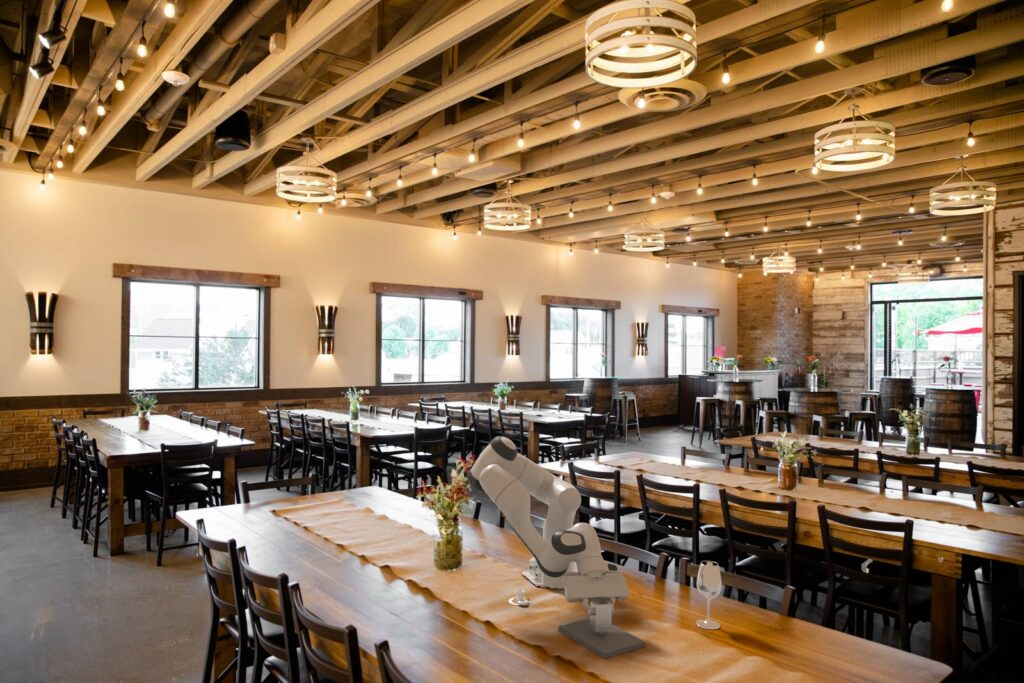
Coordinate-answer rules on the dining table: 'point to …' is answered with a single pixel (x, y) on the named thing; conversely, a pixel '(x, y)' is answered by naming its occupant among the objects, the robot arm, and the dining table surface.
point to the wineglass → (709, 589)
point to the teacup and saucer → (519, 598)
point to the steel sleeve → (601, 615)
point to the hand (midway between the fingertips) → (601, 614)
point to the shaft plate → (601, 638)
